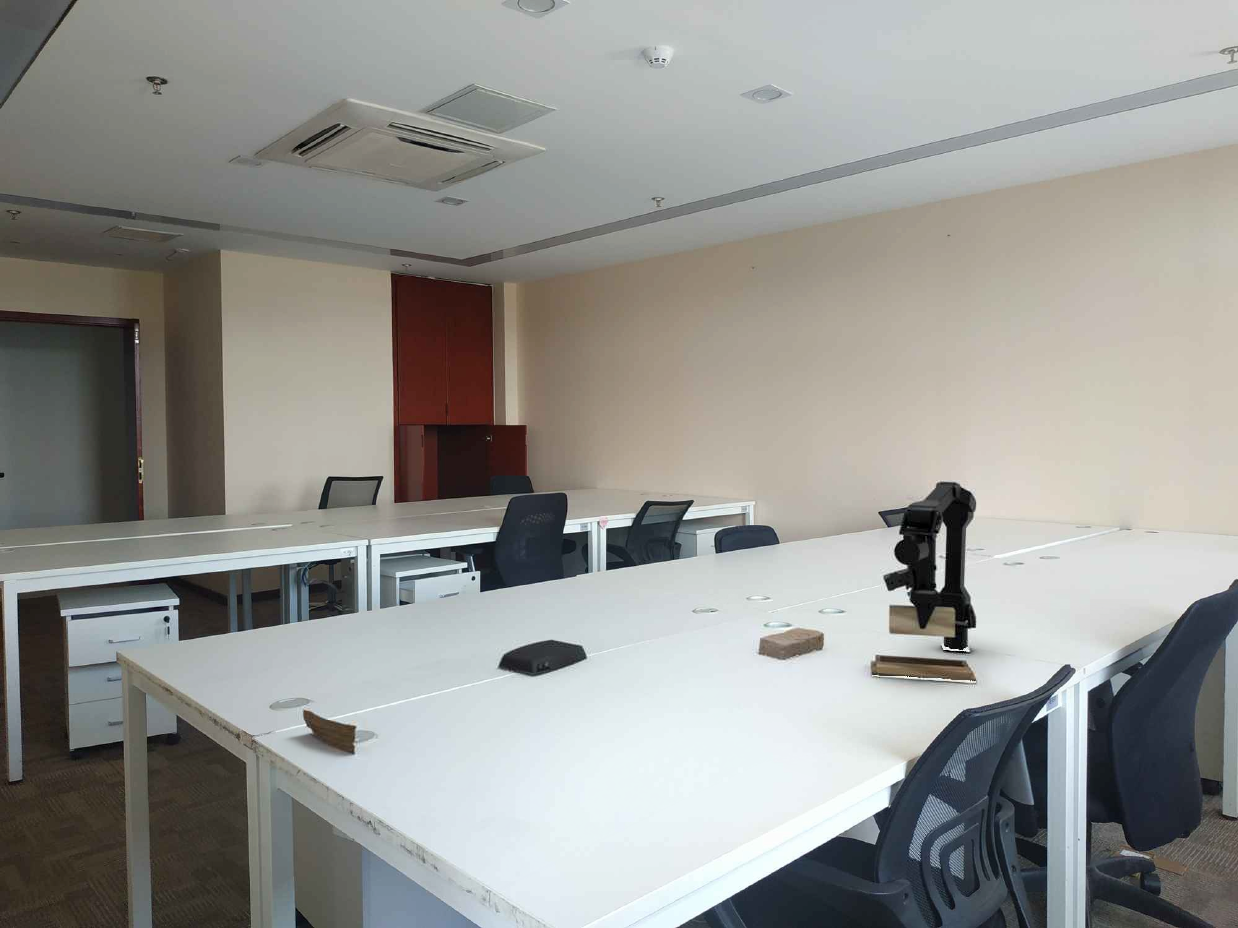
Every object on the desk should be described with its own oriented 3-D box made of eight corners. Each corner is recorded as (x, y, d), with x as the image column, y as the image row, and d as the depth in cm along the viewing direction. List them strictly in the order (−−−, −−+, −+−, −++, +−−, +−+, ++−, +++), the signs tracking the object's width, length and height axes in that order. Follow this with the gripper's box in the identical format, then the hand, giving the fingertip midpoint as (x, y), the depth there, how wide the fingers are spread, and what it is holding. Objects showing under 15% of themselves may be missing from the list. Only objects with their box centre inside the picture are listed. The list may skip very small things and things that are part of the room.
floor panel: (870, 664, 204) (871, 654, 203) (970, 671, 198) (970, 660, 198) (871, 676, 194) (872, 665, 194) (976, 684, 188) (976, 672, 188)
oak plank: (889, 630, 201) (889, 604, 200) (952, 633, 197) (953, 607, 197) (889, 633, 197) (890, 607, 197) (954, 637, 194) (955, 610, 193)
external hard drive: (495, 669, 203) (494, 652, 202) (550, 652, 218) (549, 636, 218) (535, 679, 195) (535, 661, 194) (589, 660, 210) (589, 644, 210)
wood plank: (361, 752, 150) (361, 724, 150) (351, 756, 149) (351, 727, 148) (312, 733, 160) (311, 706, 160) (302, 736, 158) (301, 709, 158)
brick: (783, 661, 208) (783, 642, 208) (756, 654, 214) (757, 635, 214) (825, 650, 218) (825, 632, 218) (799, 644, 225) (799, 626, 225)
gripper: (884, 552, 207) (883, 616, 208) (887, 564, 189) (886, 634, 190) (932, 553, 204) (932, 618, 205) (940, 566, 186) (939, 637, 187)
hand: (921, 626), depth 197 cm, fingers closed on oak plank, 3 cm apart
